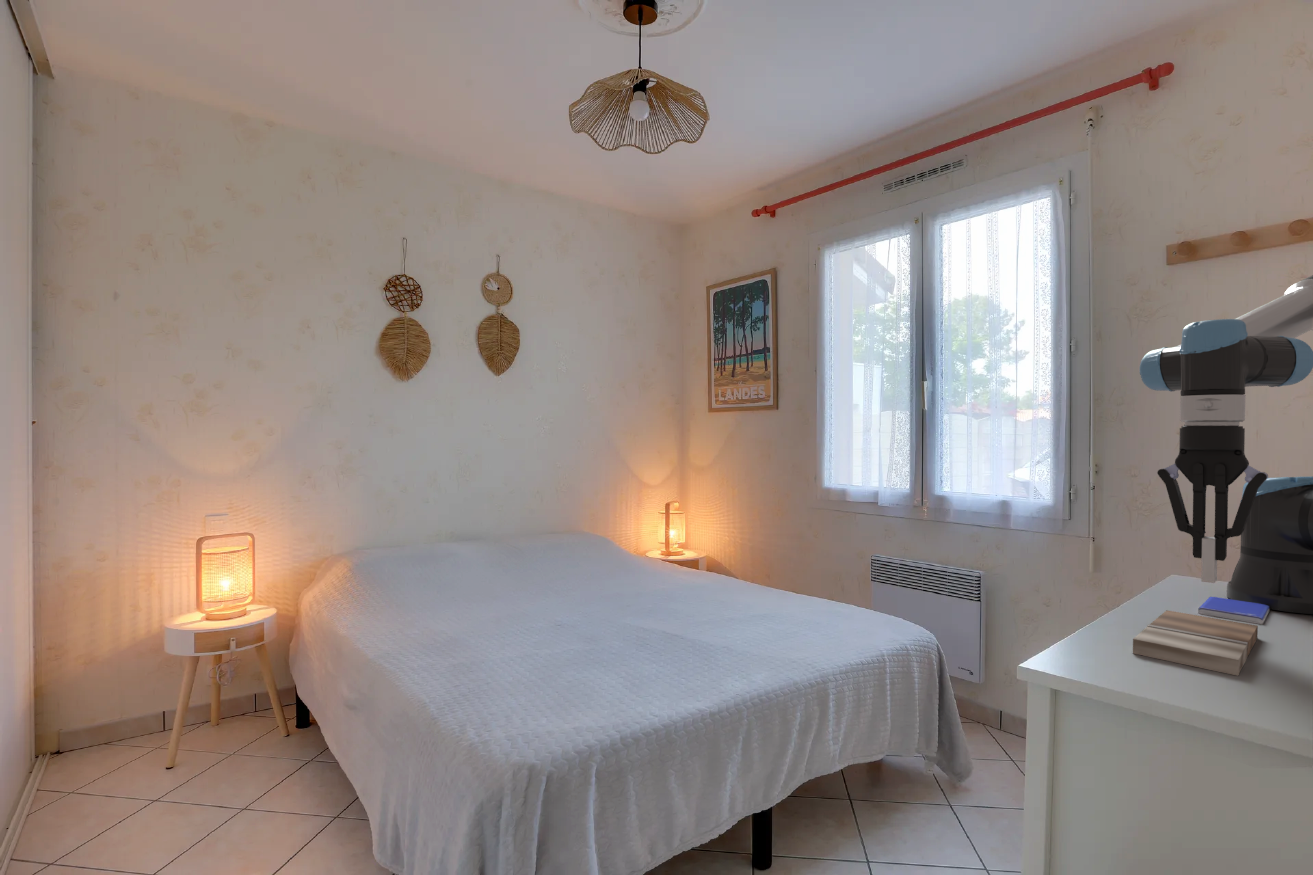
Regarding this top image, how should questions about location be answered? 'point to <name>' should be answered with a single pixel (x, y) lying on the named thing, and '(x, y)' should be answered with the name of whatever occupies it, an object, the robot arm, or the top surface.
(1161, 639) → the grey oak plank
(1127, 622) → the top surface
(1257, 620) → the hard drive
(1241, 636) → the walnut plank
